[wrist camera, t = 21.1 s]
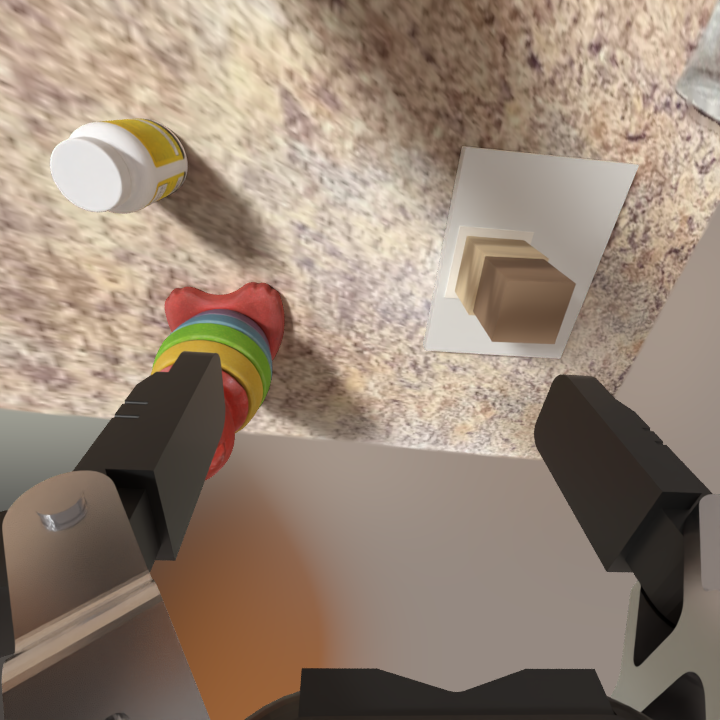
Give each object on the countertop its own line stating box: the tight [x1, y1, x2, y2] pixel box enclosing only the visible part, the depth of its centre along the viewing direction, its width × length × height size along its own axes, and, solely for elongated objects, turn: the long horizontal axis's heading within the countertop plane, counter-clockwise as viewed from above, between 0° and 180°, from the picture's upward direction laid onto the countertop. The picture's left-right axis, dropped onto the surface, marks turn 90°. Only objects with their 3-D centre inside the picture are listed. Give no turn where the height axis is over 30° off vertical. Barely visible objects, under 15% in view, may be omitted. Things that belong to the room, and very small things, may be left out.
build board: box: [423, 146, 639, 359], centre depth 37 cm, size 18×14×1 cm
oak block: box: [455, 236, 549, 315], centre depth 34 cm, size 5×5×5 cm
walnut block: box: [473, 256, 576, 344], centre depth 30 cm, size 4×4×5 cm
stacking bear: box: [151, 282, 284, 480], centre depth 33 cm, size 11×10×18 cm
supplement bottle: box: [50, 119, 188, 213], centre depth 28 cm, size 5×5×10 cm
